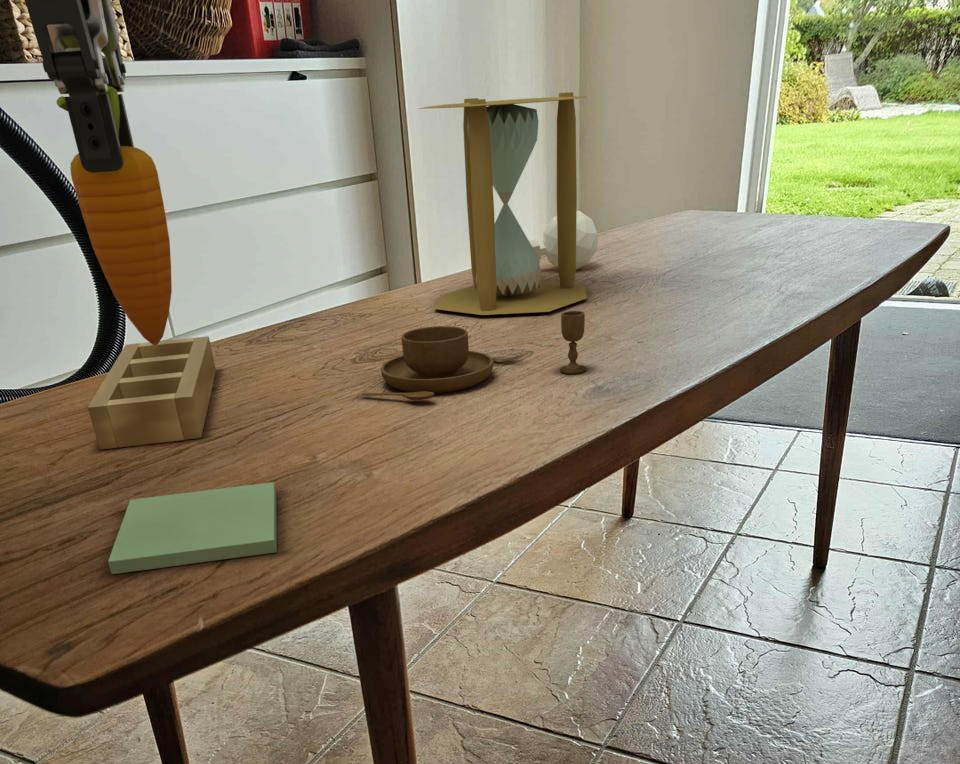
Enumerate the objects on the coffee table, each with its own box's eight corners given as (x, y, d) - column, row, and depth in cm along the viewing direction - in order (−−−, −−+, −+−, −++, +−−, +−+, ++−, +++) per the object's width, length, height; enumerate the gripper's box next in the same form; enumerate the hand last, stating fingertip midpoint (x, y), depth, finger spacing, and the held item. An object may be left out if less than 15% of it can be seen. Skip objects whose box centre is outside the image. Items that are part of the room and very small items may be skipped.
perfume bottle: (593, 249, 151) (523, 264, 151) (590, 194, 144) (517, 210, 144) (605, 274, 145) (532, 290, 146) (603, 219, 138) (527, 235, 139)
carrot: (189, 349, 57) (128, 70, 49) (109, 357, 56) (34, 76, 49) (197, 332, 61) (142, 72, 53) (122, 339, 61) (55, 78, 53)
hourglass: (469, 283, 142) (459, 98, 129) (608, 284, 134) (611, 89, 121) (406, 316, 123) (385, 105, 110) (562, 320, 116) (560, 94, 103)
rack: (99, 450, 83) (87, 407, 80) (134, 380, 103) (125, 344, 101) (201, 438, 84) (192, 395, 82) (216, 371, 104) (208, 336, 102)
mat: (111, 574, 60) (107, 561, 60) (133, 511, 70) (129, 499, 69) (276, 552, 62) (274, 539, 61) (276, 493, 71) (274, 481, 70)
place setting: (430, 355, 105) (425, 302, 102) (591, 366, 97) (592, 309, 94) (347, 398, 92) (339, 339, 89) (526, 416, 84) (525, 352, 81)
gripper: (-21, -180, 50) (69, 165, 59) (-115, -268, 38) (17, 182, 47) (118, -183, 51) (186, 156, 60) (71, -269, 39) (164, 172, 48)
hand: (111, 166), depth 53 cm, fingers closed on carrot, 5 cm apart
